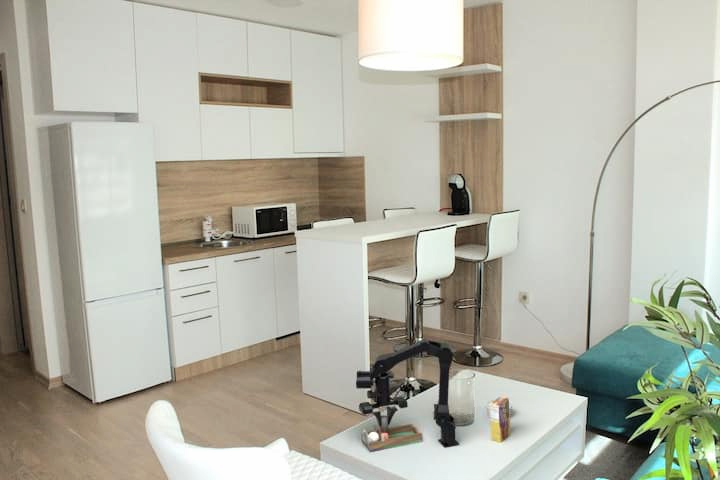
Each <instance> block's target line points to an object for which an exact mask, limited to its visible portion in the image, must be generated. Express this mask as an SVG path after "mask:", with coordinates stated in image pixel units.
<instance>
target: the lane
mask: <svg viewBox="0 0 720 480" xmlns="http://www.w3.org/2000/svg"><path fill="white" fill-rule="evenodd" d="M372 426H373V427H372V428H373V430H372V431H367V430H366V428H363V429H362V431H361V442H362V444H363V445H364V446H365V448H366V449H367V450H368V451H369V453H374V452H380V451H383V450H389V449H393V448H398V447H403V446H404V447H405V446H409V445H414V444H419V443H422V442H423V433H422V432H421V431H420V429H419V428H417V427H416V426H415V425H414V423H408V424H403V425H399V426H393V427H388V432H387V434H388V439H385V440H384V434H381V439H380V438H379V440H378V441H375V442H371V436H370V435H369V434H370V433H371V432H376V433H377V434H378V435H379V431H378V429H377V425H376V424H373V425H372Z"/></svg>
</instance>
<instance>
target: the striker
mask: <svg viewBox="0 0 720 480" xmlns="http://www.w3.org/2000/svg"><path fill="white" fill-rule="evenodd" d="M388 428H389V425H388V417H387V415H381V427H379V428H377V430H378V431H379V438H380V439H381V434H384V440H385V439H388V434H387V432H388Z"/></svg>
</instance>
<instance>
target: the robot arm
mask: <svg viewBox="0 0 720 480" xmlns="http://www.w3.org/2000/svg"><path fill="white" fill-rule="evenodd" d="M421 353H427V354H429V355H430V356H433V357H435V358H438V364H439V376H438V377H439V378H438V379H439V380H438V381H439V382H438V402H437V403H433V412H432V413H433V420H435V424H436V425H437V426H438V427H439V428H440V438H438V439H437V442H438V443H439V444H440V445H441V446H442V447H444V448H448V447H454V446H457V445H459V446H460V442H459V441H458V440H457V439H456V437H457V436H456V434H457V433H456V429H457V426H456V419H455V418H456V417H454V416H452V415H451V414H450V408H449V384H450V369H451V365H452V361H453V358H454V352H453V347H452V346H451V344H450V343H447V342H443V343H441V342H438V341H433V340H431V339H430V340H429V339H426V338H422V339H421V340H419V341H416V342H415V343H414V342H413V344H411V345H408V346H406V347H403V348H402V349H400V350H397V351H395V352H391V353H390V352H389V353H384V354H380V355H378V356H377V357H375V360H374V364H373V366H372V367H371V368H370V370H367V371H366V370H365V371H362V370H357V371H356V381H355V385H356V386H355V387H356V389H370V390H366V398H367V399H371V401H373V402H374V403H372V404H371V403H370V402H369V401H365V402H359V405H358V410H359V411H360V413H361V414H362V415H370V414H372V415H373V416H374V417H375V419H376V422H377V423H378V426H379V428H381V416H382V412H381V411H380V409H382V408H383V409H384V408H386V416H387V417H388V426H390V425H391V422H392V419H393V417H394V415H395V414H396V412H398V411H399V409H405V408H408V407H409V406H408V404H409V403H408V400H406V399H405V397H403V395H402V396H401V395H400V396H395V397H393V398H392V400H391V395H392V392H391V386H390V385H391V381H390V379H394V378H395V373H393V372H392V371H391V370H392V369H393V368H394V367H395V366H396V365H398V364H400V363H402V362H404V361H406V360H409V359H410V358H413V357H415V356H417V355H419V354H421ZM374 385H375V387H374ZM372 387H374V391H373V390H372ZM397 406H398V408H399V409H398V408H397Z"/></svg>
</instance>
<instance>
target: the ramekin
mask: <svg viewBox="0 0 720 480" xmlns="http://www.w3.org/2000/svg"><path fill="white" fill-rule="evenodd" d="M495 400H496V399H494V400H489V401H487V402H485V409H486V415H487V416H488V417H489V419H491V417H490V404H491V403H492V402H493V401H495ZM512 409H513V404H512V403H511V402H509V416H510V417H511V414H512Z"/></svg>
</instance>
